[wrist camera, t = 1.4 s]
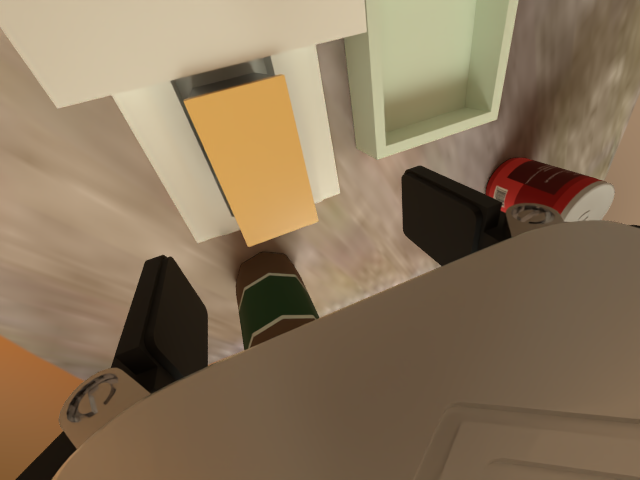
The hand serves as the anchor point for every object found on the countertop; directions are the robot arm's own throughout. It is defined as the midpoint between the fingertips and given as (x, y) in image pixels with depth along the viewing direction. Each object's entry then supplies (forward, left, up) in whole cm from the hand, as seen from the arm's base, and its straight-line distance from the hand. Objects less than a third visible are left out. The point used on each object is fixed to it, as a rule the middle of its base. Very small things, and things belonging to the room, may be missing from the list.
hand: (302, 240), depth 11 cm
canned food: (+16, +34, -19) cm, 42 cm away
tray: (-4, +18, -18) cm, 26 cm away
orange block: (0, 0, -17) cm, 17 cm away
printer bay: (-2, 0, -18) cm, 18 cm away
